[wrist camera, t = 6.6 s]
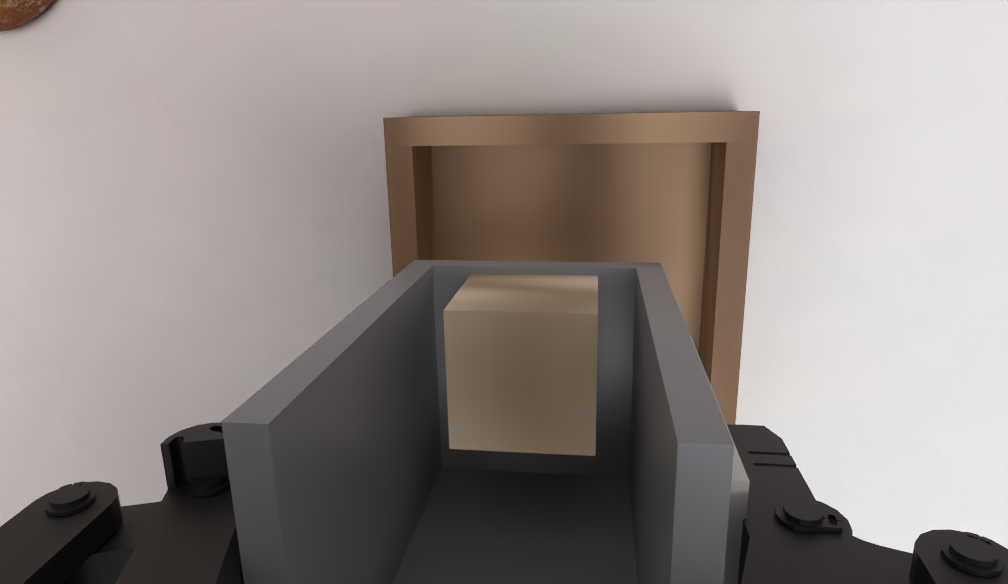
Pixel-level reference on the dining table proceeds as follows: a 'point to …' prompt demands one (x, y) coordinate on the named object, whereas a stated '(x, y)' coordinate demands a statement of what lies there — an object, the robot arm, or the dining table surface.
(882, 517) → the dining table surface
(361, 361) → the grey open box
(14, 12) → the bread roll
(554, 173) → the tray
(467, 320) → the cube
